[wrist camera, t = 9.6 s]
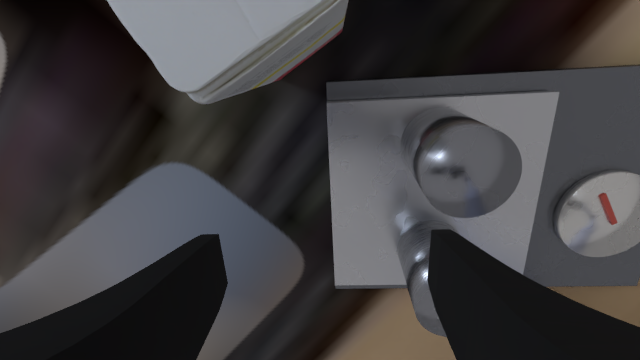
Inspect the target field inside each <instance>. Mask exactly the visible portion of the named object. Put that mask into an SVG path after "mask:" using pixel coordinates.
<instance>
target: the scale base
mask: <svg viewBox="0 0 640 360" xmlns="http://www.w3.org/2000/svg"><path fill="white" fill-rule="evenodd" d="M326 88H327V101H346V100H366V99H387V98H407V97H428V96H448V95H469V94H489V93H510V92H531V91H557V92H559V97H558V102H557V107H556V112H555V117H554V122H553V127H552V132H551V137H550V142H549V147H548V152H547V157H546V162H545V167H544V172H543V177H542V182H541V187H540V192H539V197H538V202H537V207H536V212H535V217H534V222H533V227H532V232H531V237H530V242H529V247H528V252H527V257H526V262H525V267H524V272H523V275H524V276H526V277H528V278H529V279H531V280H533V281H535V282H537V283H539V284H541V285H543V286H544V287H548V286H637V283H638V280H639V278H640V65H623V66H604V67H585V68H567V69H548V70H529V71H510V72H491V73H472V74H453V75H434V76H415V77H396V78H377V79H358V80H340V81H327V82H326ZM353 288H408V287H407V285H336V289H353Z"/></svg>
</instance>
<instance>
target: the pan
mask: <svg viewBox="0 0 640 360" xmlns="http://www.w3.org/2000/svg"><path fill="white" fill-rule="evenodd" d="M558 97H559V92H557V91H531V92H510V93H489V94H469V95H448V96H428V97H407V98H387V99H366V100H346V101H327V123H328V145H329V166H330V188H331V209H332V231H333V252H334V274H335V285H407V284H406V281H405V277H404V274H403V271H402V267H401V264H400V261H399V257H398V253H397V247H398V243H399V240H400V238H401V236H402V235H403V234H404V232H405V231H406V230H408V229H409V228H410V227H412V226H413V225H415V224H417V223H420V222H423V221H429V220H436V221H442V222H445V223H447V224H449V225H451V226H453V227H454V228H455V229H456V230H457V231H458V233H459V234H460V235H461V236H462V237H464V238H465V239H467V240H468V241H470V242H471V243H473V244H474V245H476V246H477V247H479V248H480V249H482V250H483V251H485V252H486V253H488V254H490V255H491V256H493V257H494V258H496V259H497V260H499V261H501V262H502V263H504V264H505V265H507V266H509V267H510V268H512V269H514V270H516V271H517V272H519V273H521V274H523V272H524V267H525V262H526V257H527V252H528V247H529V242H530V237H531V232H532V227H533V222H534V217H535V212H536V207H537V202H538V197H539V192H540V187H541V182H542V177H543V172H544V167H545V162H546V157H547V152H548V147H549V142H550V137H551V132H552V127H553V122H554V117H555V112H556V107H557V102H558ZM437 107H446V108H451V109H454V110H456V111H459V112H461V113H463V114H465V115H467V116H469V117H471V118H473V119H475V120H477V121H480V122H482V123H484V124H486V125H488V126H490V127H492V128H494V129H496V130H499V131H501V132H503V133H504V134H506V135H507V136H508V137H509V138H511V139H512V140H513V142H514V143H515V144H516V146H517V148H518V149H519V152H520V155H521V159H522V173H521V177H520V181H519V183H518V185H517V187H516V189H515V191H514V192H513V194H512V195H511V196H510V197H509V199H508V200H507V201H506V202H504V203H503V204H502V205H501V206H500V207H498V208H497V209H495V210H493V211H491V212H489V213H487V214H485V215H481V216H478V217H473V218H457V217H452V216H448V215H446V214H444V213H442V212H440V211H438V210H437V209H436V208H434V207H433V206H432V205H431V204H430V202H429V201H428V200H427V198H426V196H425V195H424V193H423V192H422V190H421V188H420V187H419V185H418V183H417V182H416V180H415V178H414V177H413V175H412V174H411V172H410V170H409V169H408V167H407V165H406V164H405V162H404V160H403V158H402V155H401V150H400V143H401V138H402V134H403V132H404V130H405V128H406V126H407V125H408V124H409V122H410V121H411V120H412V119H413V118H414V117H415V116H417V115H418V114H420V113H422V112H423V111H426V110H428V109H432V108H437Z"/></svg>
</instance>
